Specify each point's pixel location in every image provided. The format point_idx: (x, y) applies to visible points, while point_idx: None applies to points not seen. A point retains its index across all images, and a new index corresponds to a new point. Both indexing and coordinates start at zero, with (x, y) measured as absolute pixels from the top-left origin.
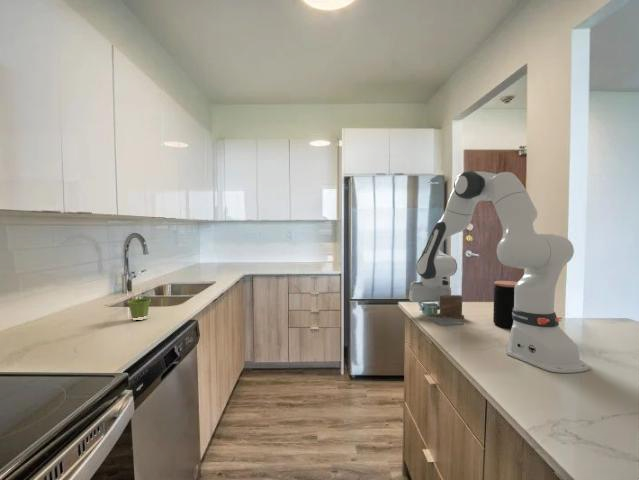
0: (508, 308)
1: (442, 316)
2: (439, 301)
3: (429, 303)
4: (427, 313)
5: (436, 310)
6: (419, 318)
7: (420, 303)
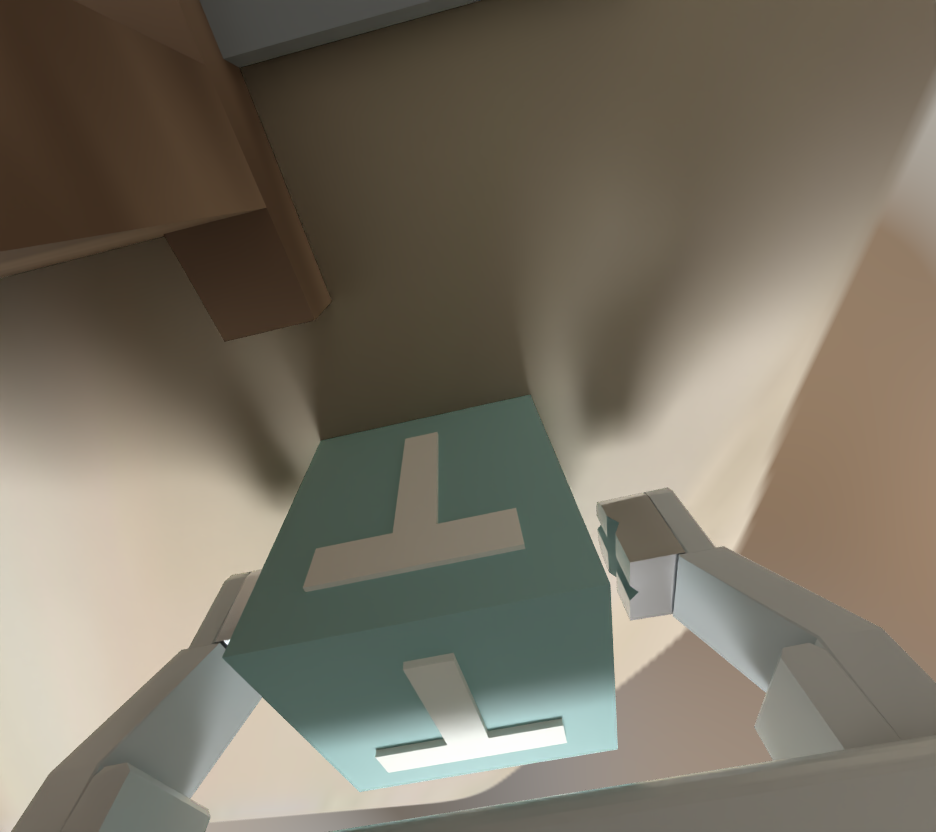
0: None
1: (186, 15)
2: (119, 822)
3: (476, 706)
4: (539, 420)
5: (319, 496)
6: (868, 99)
7: (854, 648)
